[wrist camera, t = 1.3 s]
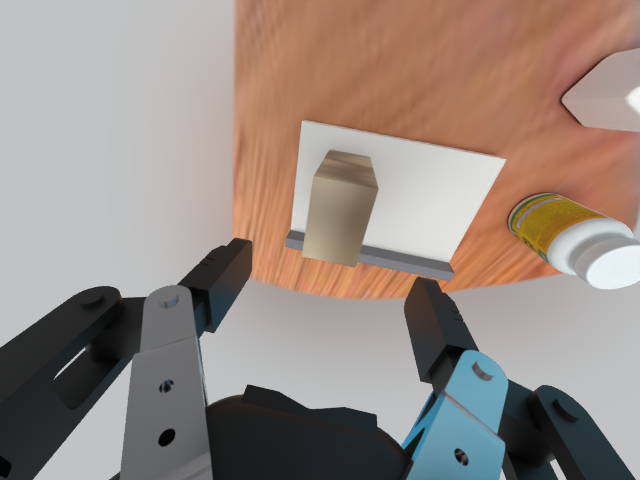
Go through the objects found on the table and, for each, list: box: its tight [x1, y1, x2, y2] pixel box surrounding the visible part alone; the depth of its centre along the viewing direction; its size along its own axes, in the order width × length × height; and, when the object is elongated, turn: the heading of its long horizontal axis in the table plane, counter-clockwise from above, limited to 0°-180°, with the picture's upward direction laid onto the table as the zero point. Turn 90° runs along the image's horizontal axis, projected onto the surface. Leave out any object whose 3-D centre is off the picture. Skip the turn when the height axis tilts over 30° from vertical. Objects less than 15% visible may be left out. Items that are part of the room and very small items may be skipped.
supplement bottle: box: [508, 193, 640, 289], centre depth 21 cm, size 5×5×10 cm
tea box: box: [302, 149, 379, 267], centre depth 20 cm, size 4×6×10 cm
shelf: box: [286, 120, 506, 281], centre depth 25 cm, size 13×19×4 cm
